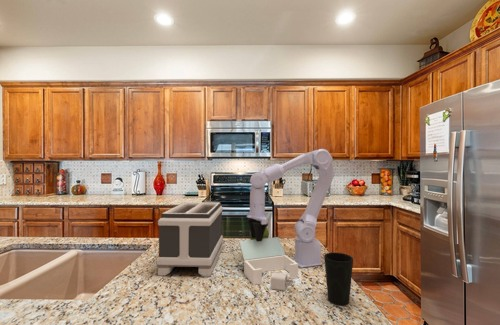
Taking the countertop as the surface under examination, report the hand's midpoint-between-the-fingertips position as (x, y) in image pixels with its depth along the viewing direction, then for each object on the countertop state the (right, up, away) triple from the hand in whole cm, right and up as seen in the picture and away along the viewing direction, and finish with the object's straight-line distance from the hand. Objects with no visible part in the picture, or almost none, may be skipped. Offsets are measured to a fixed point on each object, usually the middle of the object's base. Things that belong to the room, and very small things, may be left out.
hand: (256, 239), depth 100 cm
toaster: (-24, -9, +4) cm, 26 cm away
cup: (+22, -9, -27) cm, 36 cm away
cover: (+2, -2, -4) cm, 5 cm away
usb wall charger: (+8, -9, -20) cm, 24 cm away
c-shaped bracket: (+5, -9, -11) cm, 15 cm away
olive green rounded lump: (+2, -9, +14) cm, 17 cm away
